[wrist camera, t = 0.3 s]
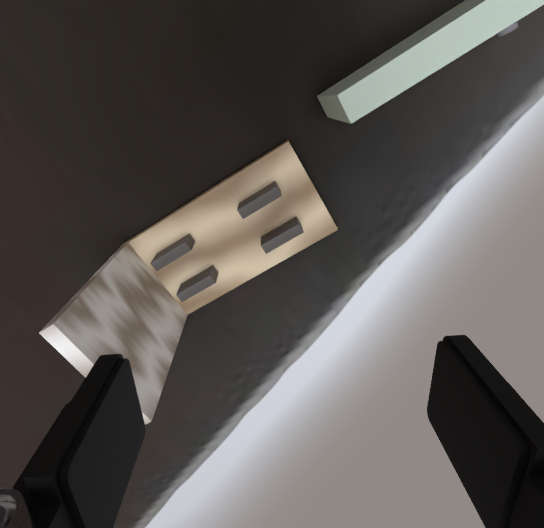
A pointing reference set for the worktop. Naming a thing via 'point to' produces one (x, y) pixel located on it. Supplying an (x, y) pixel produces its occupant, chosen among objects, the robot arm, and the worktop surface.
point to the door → (422, 55)
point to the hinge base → (189, 268)
